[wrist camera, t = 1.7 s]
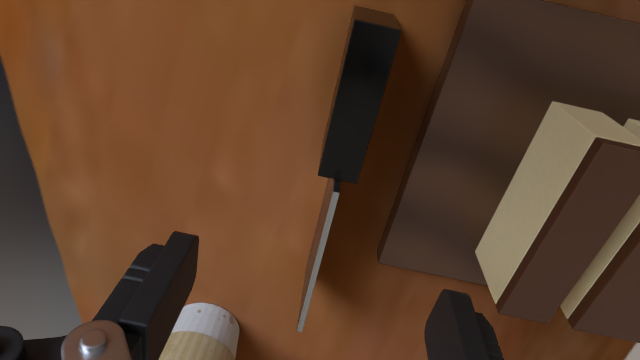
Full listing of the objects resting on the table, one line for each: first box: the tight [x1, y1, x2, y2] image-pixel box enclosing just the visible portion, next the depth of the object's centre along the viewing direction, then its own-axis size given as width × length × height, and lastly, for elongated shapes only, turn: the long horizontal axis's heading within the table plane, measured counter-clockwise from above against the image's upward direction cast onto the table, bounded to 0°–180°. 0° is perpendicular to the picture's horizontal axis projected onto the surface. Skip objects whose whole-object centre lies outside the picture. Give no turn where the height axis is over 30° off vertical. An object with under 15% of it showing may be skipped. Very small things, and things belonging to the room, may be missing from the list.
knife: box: [297, 6, 402, 332], centre depth 27 cm, size 21×2×6 cm, turn 168°
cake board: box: [377, 0, 640, 286], centre depth 28 cm, size 20×18×2 cm
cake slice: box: [475, 101, 640, 323], centre depth 25 cm, size 12×3×6 cm, turn 168°
